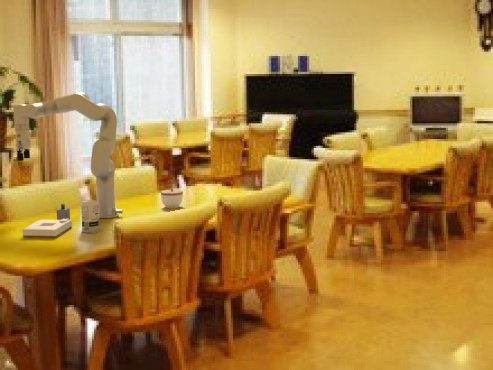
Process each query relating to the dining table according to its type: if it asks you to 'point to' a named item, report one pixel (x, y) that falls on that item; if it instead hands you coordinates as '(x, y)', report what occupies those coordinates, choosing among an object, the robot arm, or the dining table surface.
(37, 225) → the socket
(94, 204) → the supplement can
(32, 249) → the dining table surface
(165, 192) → the lidded bowl
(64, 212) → the plug
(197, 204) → the dining table surface
